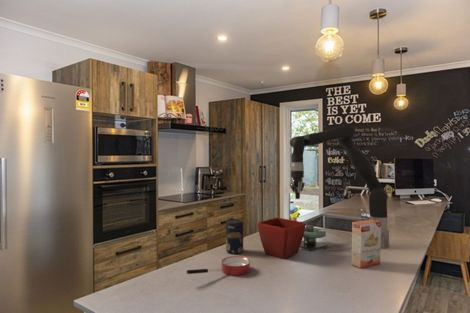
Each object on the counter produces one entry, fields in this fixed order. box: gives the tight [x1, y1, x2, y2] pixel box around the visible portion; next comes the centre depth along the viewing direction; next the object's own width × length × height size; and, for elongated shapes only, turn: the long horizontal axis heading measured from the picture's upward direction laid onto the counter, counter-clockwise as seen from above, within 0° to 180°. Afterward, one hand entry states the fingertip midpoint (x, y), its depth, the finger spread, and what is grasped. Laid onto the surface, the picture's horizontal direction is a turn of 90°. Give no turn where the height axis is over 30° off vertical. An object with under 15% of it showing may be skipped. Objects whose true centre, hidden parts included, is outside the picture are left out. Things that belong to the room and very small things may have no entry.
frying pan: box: [186, 256, 251, 277], centre depth 135 cm, size 32×13×6 cm, turn 135°
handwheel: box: [290, 216, 327, 239], centre depth 179 cm, size 20×18×9 cm
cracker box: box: [351, 219, 382, 269], centre depth 149 cm, size 14×6×21 cm, turn 117°
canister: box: [225, 218, 244, 254], centre depth 168 cm, size 10×10×18 cm
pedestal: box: [299, 237, 328, 252], centre depth 179 cm, size 14×14×7 cm
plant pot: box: [257, 217, 307, 260], centre depth 165 cm, size 19×19×17 cm
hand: (297, 198), depth 185 cm, fingers closed
